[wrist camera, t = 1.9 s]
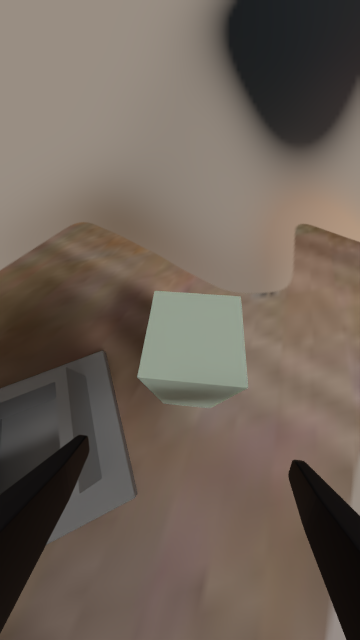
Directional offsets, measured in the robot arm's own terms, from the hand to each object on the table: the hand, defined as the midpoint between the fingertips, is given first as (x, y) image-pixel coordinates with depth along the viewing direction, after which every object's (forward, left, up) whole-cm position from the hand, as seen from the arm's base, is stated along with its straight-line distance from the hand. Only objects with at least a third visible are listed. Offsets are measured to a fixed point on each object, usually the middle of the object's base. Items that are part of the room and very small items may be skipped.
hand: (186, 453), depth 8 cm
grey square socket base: (+5, +12, -12) cm, 18 cm away
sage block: (+5, -3, -12) cm, 13 cm away
